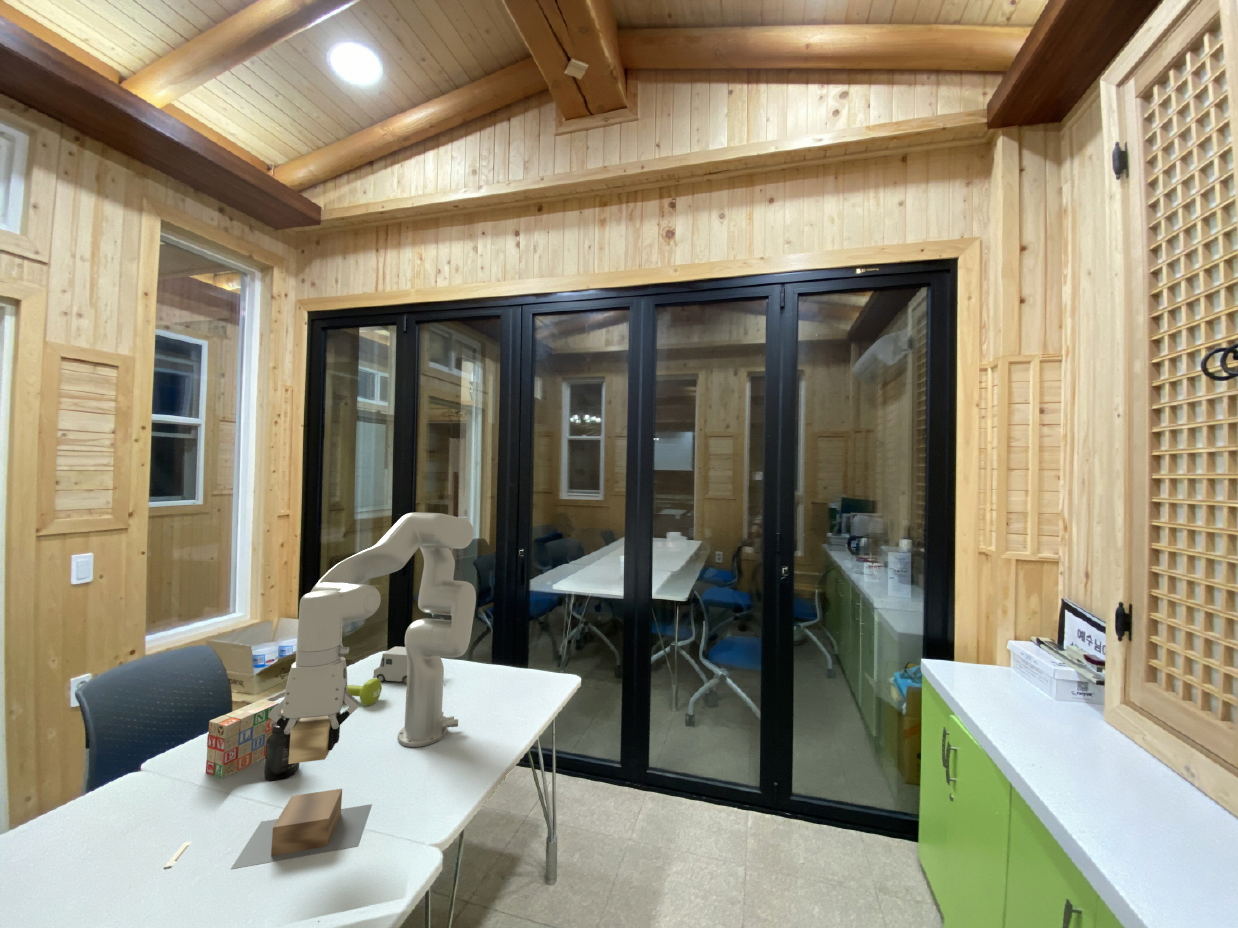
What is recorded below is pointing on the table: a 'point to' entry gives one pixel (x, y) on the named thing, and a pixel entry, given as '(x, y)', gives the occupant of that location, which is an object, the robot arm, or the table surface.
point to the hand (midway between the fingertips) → (312, 748)
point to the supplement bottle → (278, 757)
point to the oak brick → (309, 740)
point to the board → (342, 838)
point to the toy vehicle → (393, 666)
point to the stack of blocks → (239, 738)
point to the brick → (306, 822)
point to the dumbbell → (366, 691)
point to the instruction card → (177, 854)
